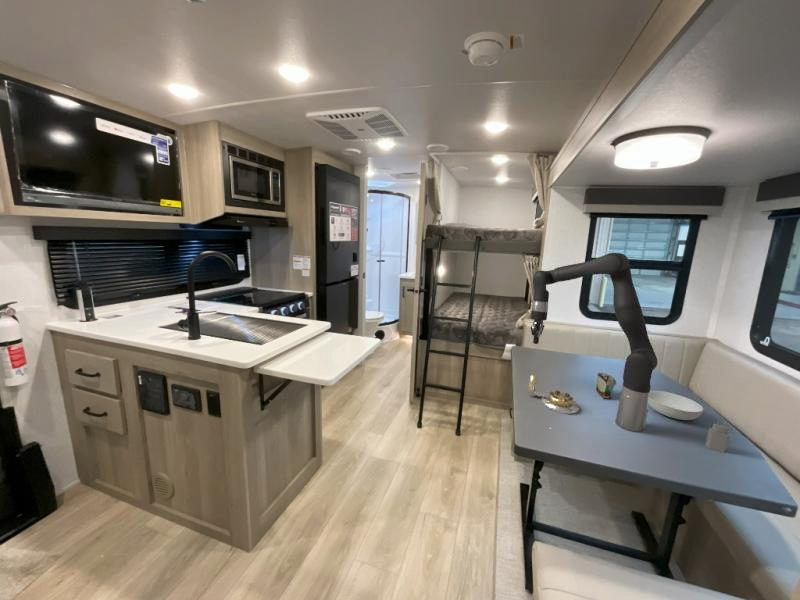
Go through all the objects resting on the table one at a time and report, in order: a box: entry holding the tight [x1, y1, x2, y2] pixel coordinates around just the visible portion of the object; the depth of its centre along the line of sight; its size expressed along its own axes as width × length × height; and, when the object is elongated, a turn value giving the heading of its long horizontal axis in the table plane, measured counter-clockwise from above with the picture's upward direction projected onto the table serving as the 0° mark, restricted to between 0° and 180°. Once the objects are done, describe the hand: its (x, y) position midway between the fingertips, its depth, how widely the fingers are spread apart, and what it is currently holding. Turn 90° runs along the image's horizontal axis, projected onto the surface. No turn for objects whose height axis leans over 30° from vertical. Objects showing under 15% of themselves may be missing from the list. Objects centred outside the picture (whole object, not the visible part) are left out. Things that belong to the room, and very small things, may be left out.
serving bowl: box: [647, 390, 704, 421], centre depth 151 cm, size 21×21×7 cm
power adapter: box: [704, 419, 731, 453], centre depth 125 cm, size 3×5×12 cm, turn 60°
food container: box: [595, 372, 617, 400], centre depth 166 cm, size 12×6×10 cm, turn 168°
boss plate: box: [541, 396, 580, 415], centre depth 153 cm, size 16×16×2 cm
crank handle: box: [527, 373, 574, 407], centre depth 154 cm, size 20×10×9 cm, turn 56°
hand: (535, 343), depth 167 cm, fingers closed
